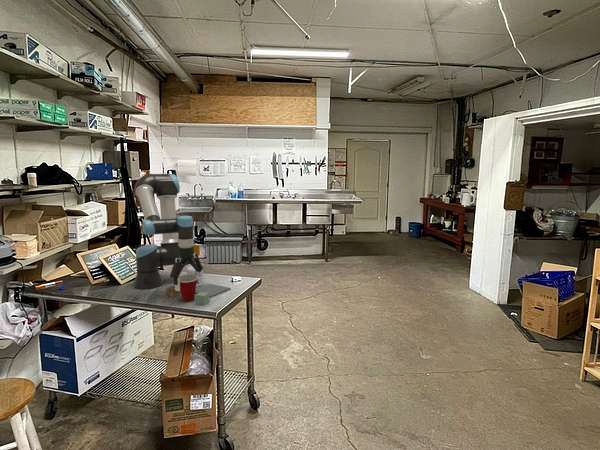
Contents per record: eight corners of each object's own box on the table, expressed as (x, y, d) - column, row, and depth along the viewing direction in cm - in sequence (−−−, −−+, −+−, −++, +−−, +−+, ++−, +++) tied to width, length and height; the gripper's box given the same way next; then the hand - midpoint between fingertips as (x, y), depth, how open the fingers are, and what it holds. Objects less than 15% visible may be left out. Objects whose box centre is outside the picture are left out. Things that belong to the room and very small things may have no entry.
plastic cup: (173, 303, 186) (172, 280, 185) (181, 296, 197) (180, 274, 195) (195, 303, 186) (194, 280, 184) (201, 296, 197) (201, 274, 195)
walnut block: (166, 296, 196) (165, 287, 195) (173, 294, 200) (173, 285, 200) (172, 298, 193) (172, 289, 193) (180, 295, 198) (179, 286, 197)
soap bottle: (184, 286, 213) (182, 244, 210) (192, 282, 222) (191, 241, 218) (197, 288, 210) (196, 245, 207) (206, 283, 219) (204, 242, 216)
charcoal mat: (188, 292, 202) (188, 291, 202) (209, 285, 216) (209, 283, 216) (210, 297, 195) (210, 296, 194) (230, 289, 208) (230, 287, 208)
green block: (195, 304, 185) (195, 294, 184) (200, 301, 190) (200, 291, 189) (204, 305, 184) (204, 295, 183) (209, 302, 188) (209, 292, 188)
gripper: (172, 251, 175) (173, 295, 178) (209, 243, 196) (210, 282, 200) (161, 250, 179) (163, 292, 182) (198, 241, 200) (199, 279, 203)
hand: (187, 287), depth 191 cm, fingers open, 13 cm apart
